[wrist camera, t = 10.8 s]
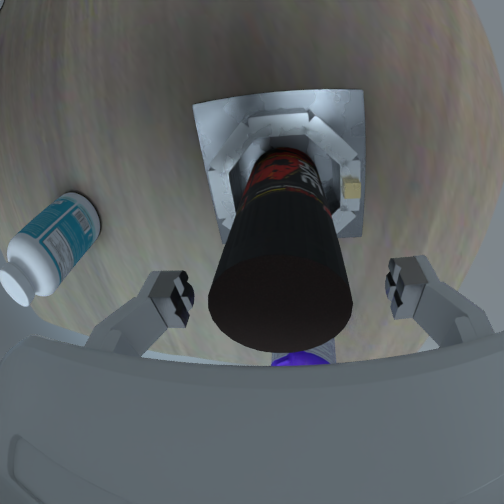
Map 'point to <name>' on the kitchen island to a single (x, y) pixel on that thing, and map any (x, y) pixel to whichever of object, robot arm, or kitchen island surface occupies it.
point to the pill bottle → (49, 248)
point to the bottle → (307, 356)
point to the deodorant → (282, 261)
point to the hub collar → (286, 135)
